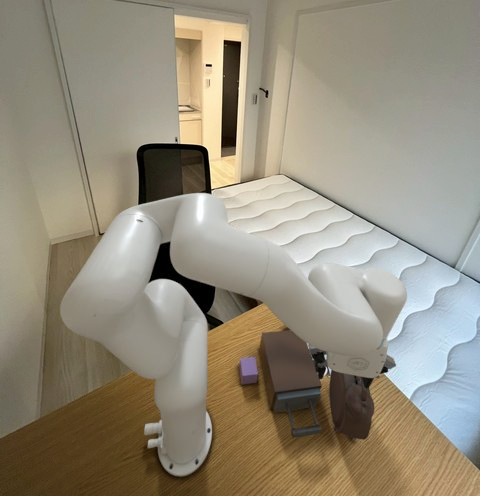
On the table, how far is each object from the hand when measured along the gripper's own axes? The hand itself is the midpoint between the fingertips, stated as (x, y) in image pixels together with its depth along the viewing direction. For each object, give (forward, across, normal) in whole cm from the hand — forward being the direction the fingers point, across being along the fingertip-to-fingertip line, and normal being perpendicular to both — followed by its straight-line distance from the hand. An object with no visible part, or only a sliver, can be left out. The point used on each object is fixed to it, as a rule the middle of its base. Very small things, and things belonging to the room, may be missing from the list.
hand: (341, 375), depth 54 cm
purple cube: (+21, -20, +7) cm, 30 cm away
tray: (+20, -8, +4) cm, 22 cm away
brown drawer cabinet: (+21, -9, +9) cm, 24 cm away
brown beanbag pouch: (+21, +6, +3) cm, 22 cm away
